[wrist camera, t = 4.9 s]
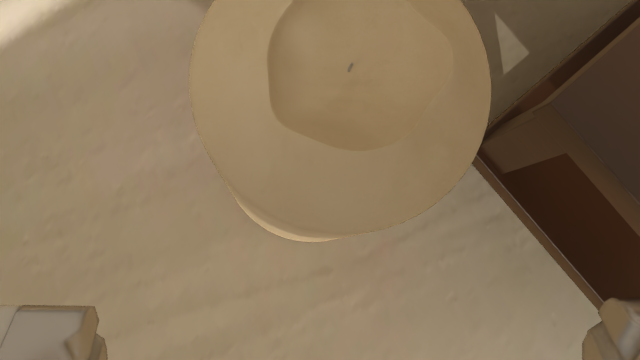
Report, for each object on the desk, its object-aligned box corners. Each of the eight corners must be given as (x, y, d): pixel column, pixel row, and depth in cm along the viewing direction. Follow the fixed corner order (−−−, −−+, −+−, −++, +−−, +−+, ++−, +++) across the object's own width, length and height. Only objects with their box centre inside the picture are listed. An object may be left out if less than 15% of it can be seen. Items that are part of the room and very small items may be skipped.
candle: (227, 71, 19) (184, -123, 9) (393, 78, 20) (521, -101, 10) (221, 241, 18) (167, 228, 9) (393, 244, 19) (531, 233, 9)
